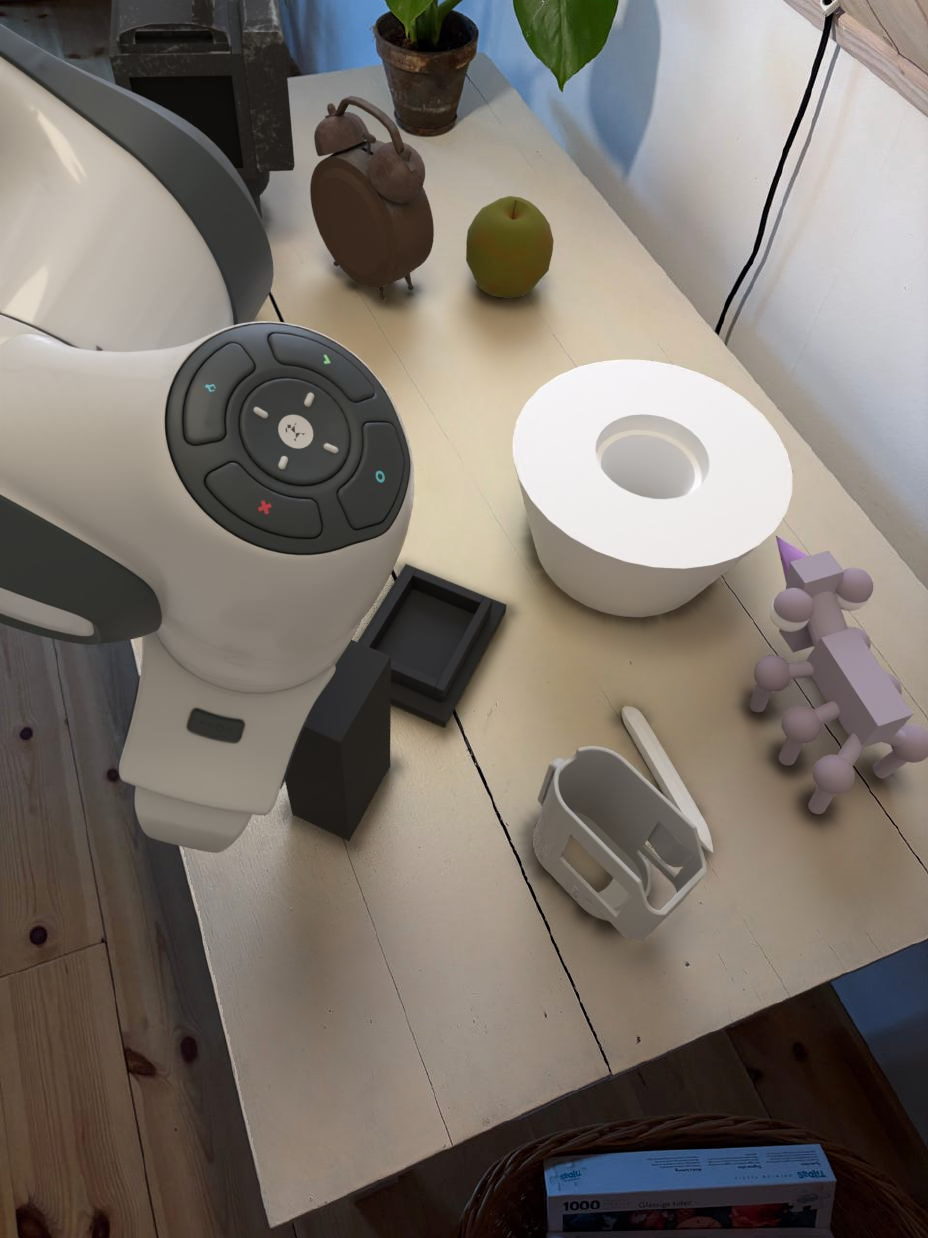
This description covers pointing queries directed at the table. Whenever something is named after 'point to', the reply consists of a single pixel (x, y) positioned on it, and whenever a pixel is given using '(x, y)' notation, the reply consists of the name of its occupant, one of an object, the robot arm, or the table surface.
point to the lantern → (212, 74)
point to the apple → (509, 247)
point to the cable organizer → (615, 838)
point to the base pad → (431, 640)
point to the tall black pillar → (344, 744)
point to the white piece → (645, 482)
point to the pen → (664, 771)
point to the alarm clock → (370, 198)
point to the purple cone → (834, 674)
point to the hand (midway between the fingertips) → (236, 675)
